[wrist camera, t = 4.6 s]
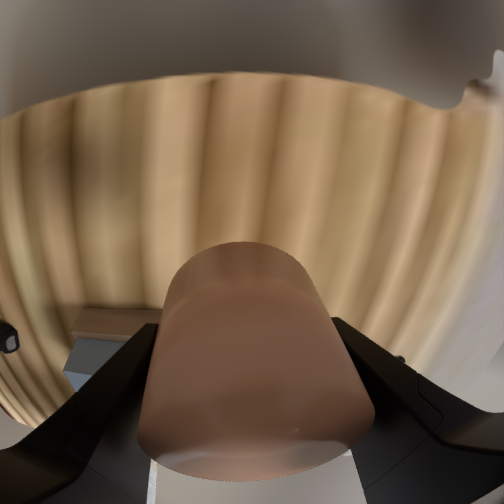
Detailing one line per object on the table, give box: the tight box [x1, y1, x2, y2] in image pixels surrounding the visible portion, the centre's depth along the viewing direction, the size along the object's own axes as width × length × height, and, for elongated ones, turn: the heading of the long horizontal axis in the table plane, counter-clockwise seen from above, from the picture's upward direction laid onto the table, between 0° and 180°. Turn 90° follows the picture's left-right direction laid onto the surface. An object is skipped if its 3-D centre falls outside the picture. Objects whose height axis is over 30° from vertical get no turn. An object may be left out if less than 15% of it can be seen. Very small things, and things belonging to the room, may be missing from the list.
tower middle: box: [63, 338, 126, 392], centre depth 18 cm, size 6×6×4 cm
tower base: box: [71, 308, 163, 343], centre depth 21 cm, size 8×8×4 cm
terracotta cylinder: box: [137, 242, 375, 482], centre depth 7 cm, size 5×5×5 cm
